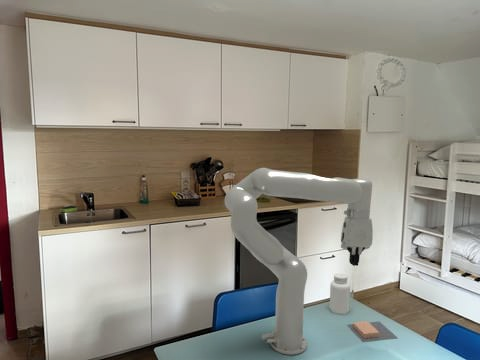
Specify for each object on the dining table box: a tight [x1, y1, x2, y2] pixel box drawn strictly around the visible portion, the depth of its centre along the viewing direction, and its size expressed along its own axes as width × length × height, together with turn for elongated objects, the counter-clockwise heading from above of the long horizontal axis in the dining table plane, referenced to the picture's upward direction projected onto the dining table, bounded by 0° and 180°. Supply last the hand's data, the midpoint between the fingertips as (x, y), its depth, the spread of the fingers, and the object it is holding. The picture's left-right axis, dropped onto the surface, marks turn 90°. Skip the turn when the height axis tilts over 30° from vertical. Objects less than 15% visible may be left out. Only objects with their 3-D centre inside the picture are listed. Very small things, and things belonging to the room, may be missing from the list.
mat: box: [346, 320, 399, 343], centre depth 137 cm, size 14×12×1 cm
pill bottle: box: [329, 273, 351, 315], centre depth 153 cm, size 8×8×15 cm
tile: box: [352, 320, 379, 338], centre depth 136 cm, size 2×8×6 cm
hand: (353, 264), depth 132 cm, fingers closed
